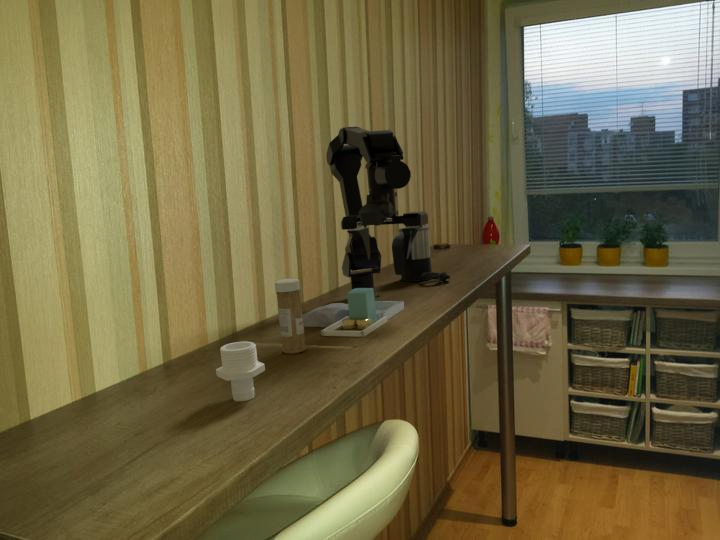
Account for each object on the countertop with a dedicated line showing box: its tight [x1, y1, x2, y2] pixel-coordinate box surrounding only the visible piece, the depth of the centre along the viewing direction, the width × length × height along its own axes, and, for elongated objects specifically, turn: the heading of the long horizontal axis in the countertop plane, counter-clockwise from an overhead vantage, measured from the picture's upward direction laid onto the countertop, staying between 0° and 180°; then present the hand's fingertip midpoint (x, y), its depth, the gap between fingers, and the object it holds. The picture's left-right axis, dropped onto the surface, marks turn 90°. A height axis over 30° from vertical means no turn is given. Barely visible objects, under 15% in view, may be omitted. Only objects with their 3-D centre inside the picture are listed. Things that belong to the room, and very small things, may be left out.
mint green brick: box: [346, 288, 377, 325], centre depth 136 cm, size 4×4×7 cm
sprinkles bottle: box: [274, 277, 307, 355], centre depth 120 cm, size 5×5×14 cm
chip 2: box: [356, 318, 372, 330], centre depth 133 cm, size 3×3×2 cm
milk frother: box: [391, 225, 451, 282], centre depth 182 cm, size 14×16×15 cm
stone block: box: [302, 302, 349, 328], centre depth 142 cm, size 12×5×10 cm
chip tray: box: [320, 316, 388, 338], centre depth 133 cm, size 12×9×1 cm
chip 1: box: [342, 318, 357, 330], centre depth 134 cm, size 3×3×2 cm
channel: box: [375, 300, 405, 322], centre depth 144 cm, size 12×8×2 cm
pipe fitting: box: [215, 341, 266, 402], centre depth 97 cm, size 6×7×8 cm
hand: (387, 259), depth 145 cm, fingers open, 9 cm apart
